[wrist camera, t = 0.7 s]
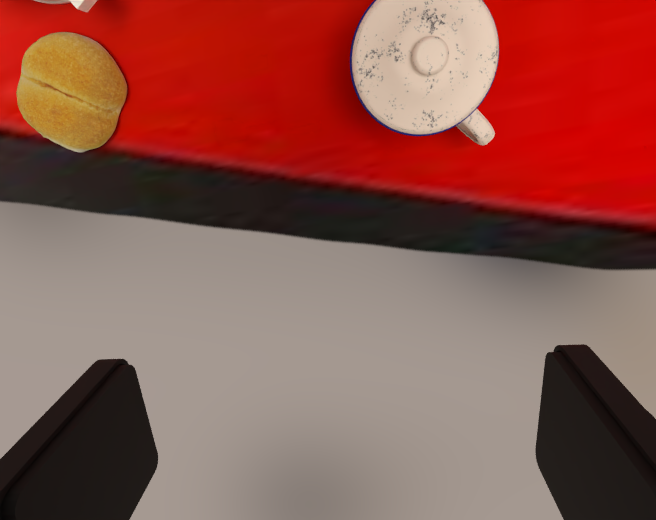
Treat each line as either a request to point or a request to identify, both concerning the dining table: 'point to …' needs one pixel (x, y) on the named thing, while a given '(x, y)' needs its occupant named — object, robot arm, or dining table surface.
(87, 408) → the robot arm
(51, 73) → the bread roll
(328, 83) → the dining table surface
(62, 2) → the pot
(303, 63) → the dining table surface
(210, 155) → the dining table surface
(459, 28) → the teacup with lid
